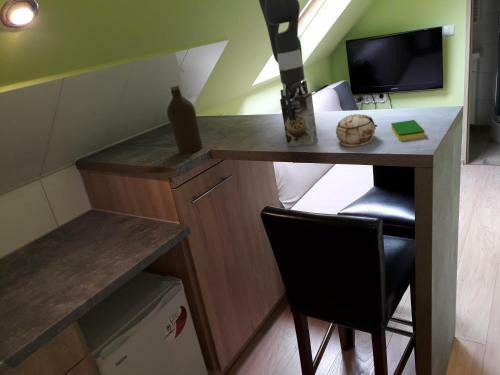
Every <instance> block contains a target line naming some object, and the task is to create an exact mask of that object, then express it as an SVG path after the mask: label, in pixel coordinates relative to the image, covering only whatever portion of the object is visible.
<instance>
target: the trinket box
mask: <svg viewBox="0 0 500 375" xmlns="http://www.w3.org/2000/svg"><path fill="white" fill-rule="evenodd" d="M337 122H338V123H337V125H336V129H335V134H336V138H337V139H338V140H339V141H340V142H339V143H341V145H343V146H347V147H359V146H364V145H367V144H370V143H371V142H372V140H373V137H374V136H375V133H376V130H377V129H376V127H378V124H375V121H374V120H373V117H372V116H369V115H367V114H366V115H365V114H357V113H353V114H349V115H346V116H344V117H343V118H341V119H340V120H339V121H337Z"/></svg>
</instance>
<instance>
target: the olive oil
mask: <svg viewBox="0 0 500 375" xmlns="http://www.w3.org/2000/svg"><path fill="white" fill-rule="evenodd" d="M170 90H171V91H170V92H171V96H172V98H171V100H170V103H169V104H168V105H167V109H166V110H167V112H166V115H167V119H168V120H169V124H170V127H171V130H172V133H173V136H174V139H175V143H176V145H177V150H178V153H179V154H181V155H186V154H187V155H188V154H192V153H195V152H199V151H200V150H202V149H203V146H204V145H203V143H202V138H201V134H200V128H199V123H198V120H197V119H198V118H197V113H196V109H195V106H194V104H193V103H192V102H191V101H190V100H188V99H187V98H185V97H184V96H183V95H182V93H181V89H180V86H179V85H174V86H170Z"/></svg>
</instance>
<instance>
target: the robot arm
mask: <svg viewBox="0 0 500 375" xmlns="http://www.w3.org/2000/svg"><path fill="white" fill-rule="evenodd" d="M258 2H259V6H260V10H261V12H262V16H263V19H264V21H265V25H266V28H267V32H268V36H269V38H268V39H269V42H270V46H271V50H272V55H273V58H274V60H275V62H276V63H277V64H278V72H279V77H280V83H281V85H282V89H280V99H282V106H283V109H287V110H288V116H289V120H290V121H292V120H296V115H295V109H294V105H295V102H296V97H297V96H298V95H301V94H306V93H309V91H308V90H309V89H308V84H307V80H306V79H305V77H306V76H305V70H304V64H303V63H304V62H303V54H302V53H303V51H302V44H301V40H300V37H299V33H298V29H299V20H300V10H301V9H300V8H301V7H300V2H299V0H258ZM285 23H288V26H287V28H286V29H285V30H282V31H281V32H279V29H280V25H281V24H282V25H283V24H285ZM285 96H286V97H285ZM290 98H293V99H290ZM285 101H286V105H285Z"/></svg>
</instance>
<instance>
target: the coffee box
mask: <svg viewBox="0 0 500 375" xmlns="http://www.w3.org/2000/svg"><path fill="white" fill-rule="evenodd" d="M312 94H313V93H312V92H308V93H306V94H301V95H298V96H297V97H296V102H295V105H294V109H295V115H296V120H292V121H290V120H289V116H288V110H287V109H283V106H282V99H281V98H279V101H280V107H281V108H280V109H281V113H282V115H281V116H282V120H283V126H284V132H285V139H286V145H287V146H286V147H297V146H298V145H303V146H313V145H314V144H315V143H316V142H317V141H318V135H317V134H318V133H317V126H316V117H315V111H314V103H313V102H314V101H313V95H312ZM285 97H286V96H285ZM290 99H293V98H290ZM285 105H286V101H285ZM313 143H314V144H313ZM312 144H313V145H312Z"/></svg>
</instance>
